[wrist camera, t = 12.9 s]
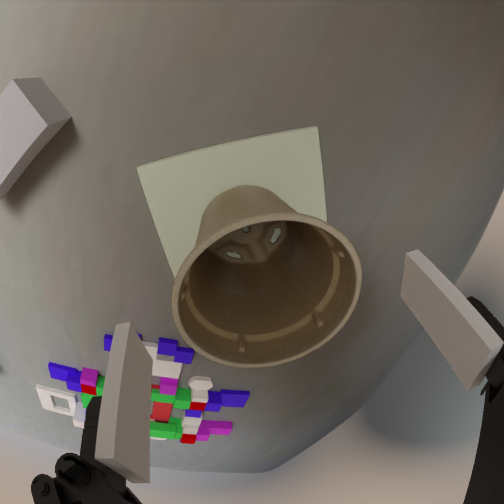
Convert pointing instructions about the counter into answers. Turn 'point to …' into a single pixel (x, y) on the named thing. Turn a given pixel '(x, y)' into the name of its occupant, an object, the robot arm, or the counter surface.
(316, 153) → the coaster
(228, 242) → the flower pot
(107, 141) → the counter surface
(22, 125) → the grey block
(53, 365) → the building block set
